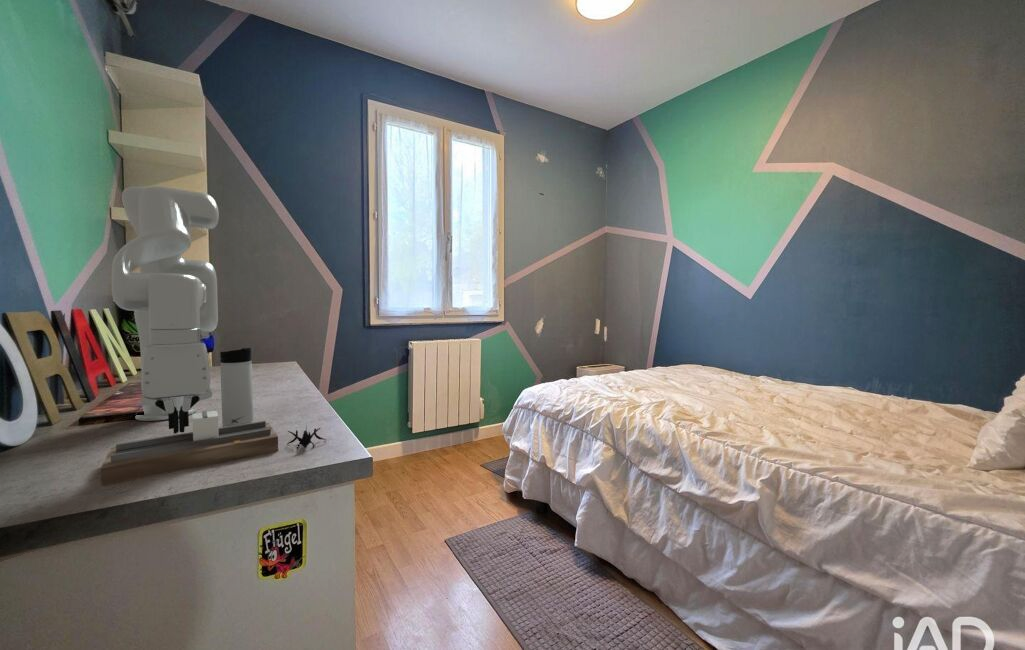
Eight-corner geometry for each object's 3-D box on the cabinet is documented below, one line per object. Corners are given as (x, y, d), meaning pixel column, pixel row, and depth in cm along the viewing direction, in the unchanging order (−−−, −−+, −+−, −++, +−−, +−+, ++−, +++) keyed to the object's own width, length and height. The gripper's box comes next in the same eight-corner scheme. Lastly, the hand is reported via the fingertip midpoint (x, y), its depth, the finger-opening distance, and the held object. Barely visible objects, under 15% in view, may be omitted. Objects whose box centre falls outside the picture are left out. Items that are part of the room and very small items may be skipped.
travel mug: (239, 434, 94) (236, 349, 92) (215, 431, 95) (213, 348, 94) (260, 426, 100) (258, 346, 99) (238, 424, 101) (236, 345, 100)
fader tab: (193, 437, 81) (192, 412, 81) (217, 433, 84) (216, 409, 83) (193, 444, 77) (192, 418, 77) (218, 440, 80) (218, 414, 79)
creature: (288, 448, 88) (282, 452, 81) (288, 423, 89) (282, 425, 82) (327, 443, 91) (325, 447, 84) (326, 419, 92) (324, 421, 85)
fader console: (111, 463, 76) (110, 441, 76) (269, 435, 93) (268, 417, 92) (101, 485, 67) (100, 461, 67) (278, 450, 83) (277, 430, 83)
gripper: (222, 334, 84) (225, 420, 85) (124, 338, 75) (128, 433, 76) (224, 337, 78) (227, 428, 79) (118, 341, 69) (123, 445, 70)
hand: (179, 431), depth 78 cm, fingers closed
